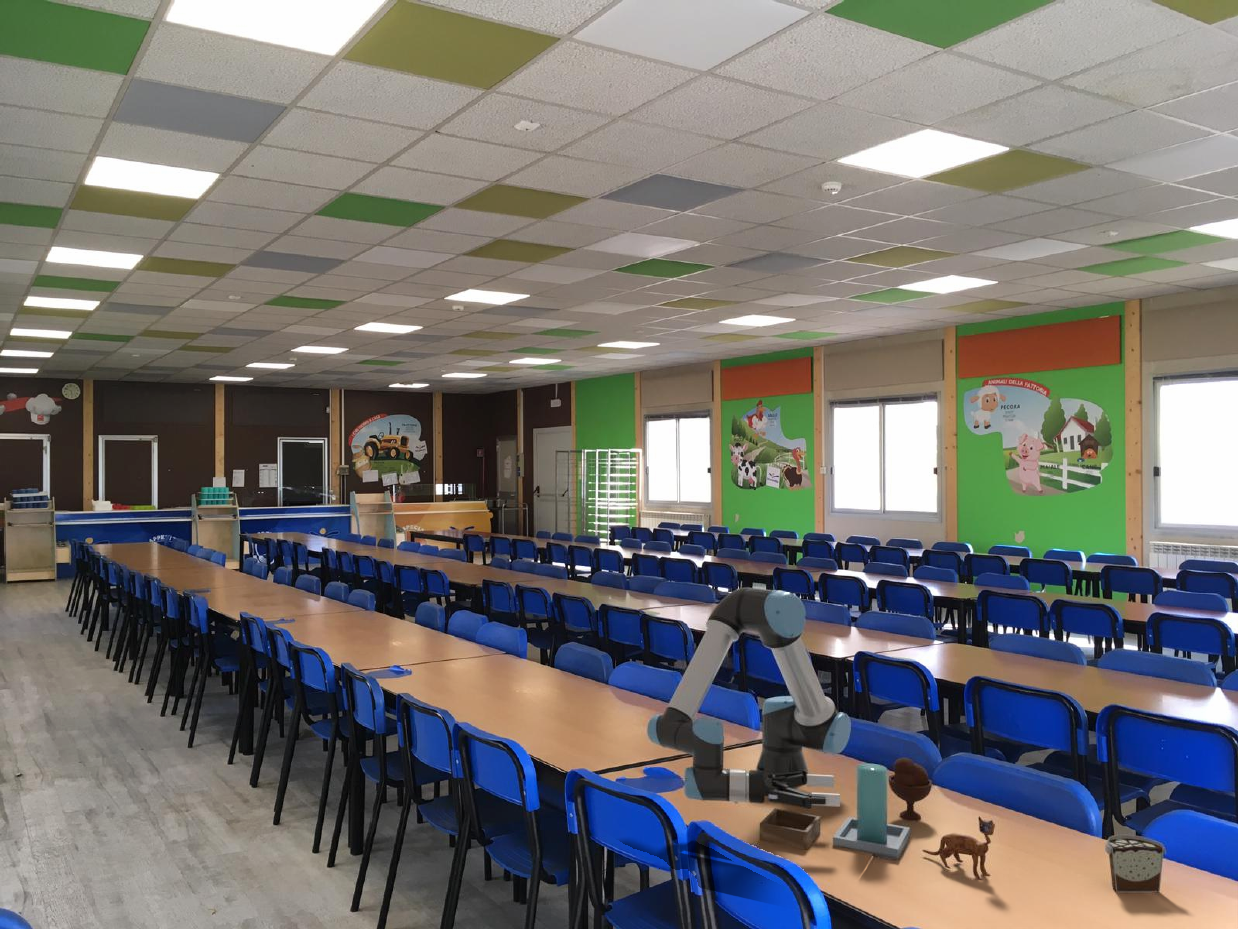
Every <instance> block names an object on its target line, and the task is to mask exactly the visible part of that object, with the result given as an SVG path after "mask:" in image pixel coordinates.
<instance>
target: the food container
mask: <svg viewBox="0 0 1238 929" xmlns="http://www.w3.org/2000/svg"><path fill="white" fill-rule="evenodd" d="M1164 845H1165V844H1163V843H1161V842H1159V841H1157V840H1154V839H1151V838H1148V837H1144V836H1139V835H1133V834H1132V835H1131V834H1115V835H1111V836H1109V837H1108V839H1107V840H1106V843H1105V847H1104V850H1105V852H1106V853H1107V855H1108V857H1109V868H1110V875H1111V886H1112V887H1113V888H1112V890H1113V891H1114V892H1115V893H1117V894H1118V892H1119V893H1120V894H1121V892H1122V893H1124V892H1129V893H1158V892H1157V891H1160V890H1161V882H1162V870H1163V862H1164V861H1163V860H1164V855H1167V850H1166V847H1165V846H1164ZM1155 891H1156V892H1155ZM1160 892H1161V891H1160Z"/></svg>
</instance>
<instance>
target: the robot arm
mask: <svg viewBox="0 0 1238 929" xmlns="http://www.w3.org/2000/svg"><path fill="white" fill-rule="evenodd" d="M806 616H807V613H806V607H805V605H804V603H803V601H802V600H801V599H800V598H799V597H798V596H797V595H796V594H795V593H792V592H788V591H785V590H781V589H780V590H774V589H765V588H755V587H747V586H746V587H740V588H738V589H735V590H733V591H731V592H730V593H729V594H727V595H726V596H725V597H724V598H722V599H721V601H720V602H718V603H717V605H716V606H715V607H714V609H713V610H712V612H711V613H710V615H709V617H708V618H707V620H706V622H705V626H706V631H705V632H704V634H703V637H702V638H701V641H700V642H699V645H698V646H697V648H696V650H695V652H694V654H693V656H692V658H691V660H690V662H689V663H688V665H687V667H686V669H685V672H684V674H683V675H682V677H681V679H680V682H679V683H678V685H677V687H676V689H675V691H674V694H673V695H672V697H671V699H670V701H669V703H668V705H667V707H666V709H665V710H664V713H661V714H654V715H653V716H652V717H650V719H649V721H648V724H647V728H646V731H647V732H646V733H647V736H648V739H649V740H650V742H651V743H653V744H654V745H658V746H661V747H663V748H666V749H667V748H668V749H670V750H675V751H678V752H682V753H684V754H688V755H691V756H692V766H688V767H686V768H685V770H684V787H683V788H684V795H685V797H686V799H689V800H696V801H697V800H699V801H703V802H705V801H714V802H717V801H718V802H733V803H734V804H735V805H736V804H738V803H746V802H747V801H748V802H749V803H750V804H751V803H752V804H754V803H755V804H763V803H764V802H765V797H768V802H770V803H777V804H778V803H779V804H783V805H789V806H793V807H797V808H803V809H807V810H812V806H818V807H819V806H822V807H841V794H840V793H829V792H826V793H825V792H811V794H810V793H807V792H804V791H802V790H798V789H795V788H797V787H800V786H804V785H805V786H807V787H819V788H820V787H822V788H835V780H834V779H835V775H834V774H833V775H831V774H829V775H828V774H809V768H808V765H807V762H806V759H805V756H804V753H803V748H806V749H809V750H812V751H815V752H819V753H823V754H829V755H837V754H840V753H841V752H842V751H844V749H845V747H846V746H847V744H848V742H849V739H850V735H851V729H852V728H851V727H852V726H851V719H850V717H849V715H848V714H846V713H844V712H841V711H840V712H839V711H838V710H837V708H836V705H835V703H834V701H833V700H832V699H831V698H830V697H829V696H825V693H824V691H823V687H822V685H821V683H820V682H819V681H820V680H819V678H818V676H817V674H816V671H815V669H814V666H813V664H812V662H811V659H810V657H809V654H808V652H807V649H806V647H805V645H804V642H803V640H802V635H803V632H804V629H805V626H806V623H807V619H806ZM743 632H753V633H756V634H758V637H759V639H760V641H761V643H762V645H763V646H764V647H765V648H767V649H770V650H771V651H772V654H773V657H774V659H775V661H776V664H777V666H778V668H779V671H780V672H781V675H782V678H783V680H784V682H785V684H786V687H787V690H788V692H789V694H790V695H785V696H784V695H781V696H774V697H770V698H767V699H765V700H764V701H763V703H762V712H761V721H762V722H761V725H762V726H761V728H762V729H761V733H762V734H761V735H762V736H761V737H762V738H761V740H762V742H761V743H762V744H761V745H762V746H761V748H762V749H761V752H760V755H759V758H758V761H757V764H756V768H755V770H754V769H750V770H749V771H748V772H747V770H746V769H740V768H739V769H737V768H736V769H734V768H724V752H725V751H724V747H725V746H724V745H725V744H724V743H725V735H724V724H723V722H722V721H721V720H720V719H718V718H716V717H709V716H708V717H707V716H705V717H703V716H702V717H697V718H695V717H696V716H697V714H698V712H699V710H700V707H701V706H702V703H703V701H704V700H705V697H706V695H707V693H708V691H709V690H710V688H711V686H712V683H713V682H714V679H715V677H716V676H717V673H718V672H719V670H720V667H721V666H722V664H723V661H724V660H725V659H726V656H727V653H728V651H729V649H730V648H731V646H732V644H733V643H735V642H737V641H738V640H739V638H740V636H741V634H742V633H743Z"/></svg>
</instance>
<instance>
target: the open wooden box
mask: <svg viewBox="0 0 1238 929" xmlns="http://www.w3.org/2000/svg"><path fill="white" fill-rule="evenodd" d="M820 834H821V816H820V815H814V814H809V813H802V812H798V811H791V810H787V809H781V808H774V809H773V810H771V812H769V814H767V815H766V817H764V818H763V820H761V821H760V822H759V841H763V842H768V843H773V844H778V845H782V846H787V847H793V848H798V849H803V850H808V849H809V848H810V847H811V845H812V844H813V843H814V841H815V840H816V839H817V838H818V837H819V835H820Z"/></svg>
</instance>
